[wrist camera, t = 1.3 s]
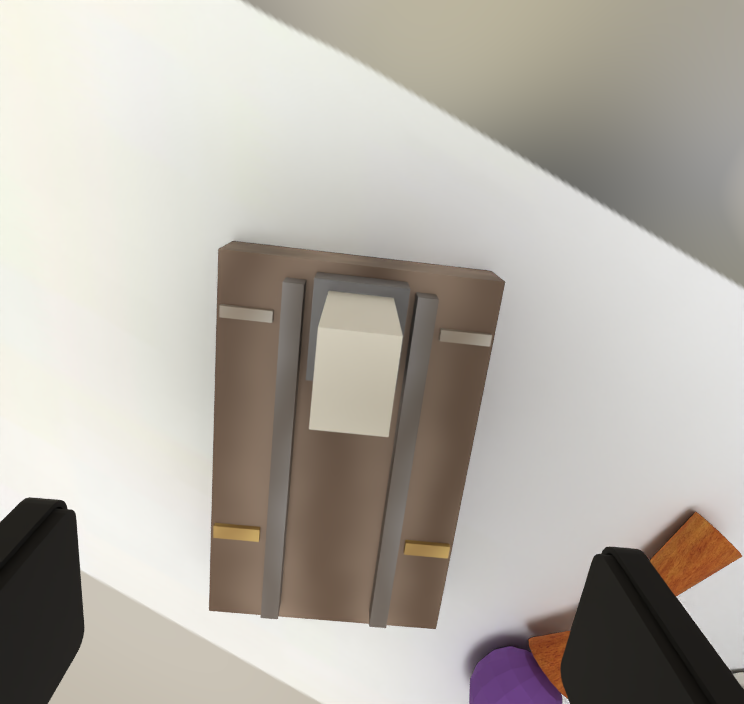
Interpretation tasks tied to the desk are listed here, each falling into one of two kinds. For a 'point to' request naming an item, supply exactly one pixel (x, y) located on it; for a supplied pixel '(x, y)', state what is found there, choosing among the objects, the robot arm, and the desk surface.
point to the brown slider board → (340, 444)
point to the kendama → (542, 666)
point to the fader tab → (355, 352)
